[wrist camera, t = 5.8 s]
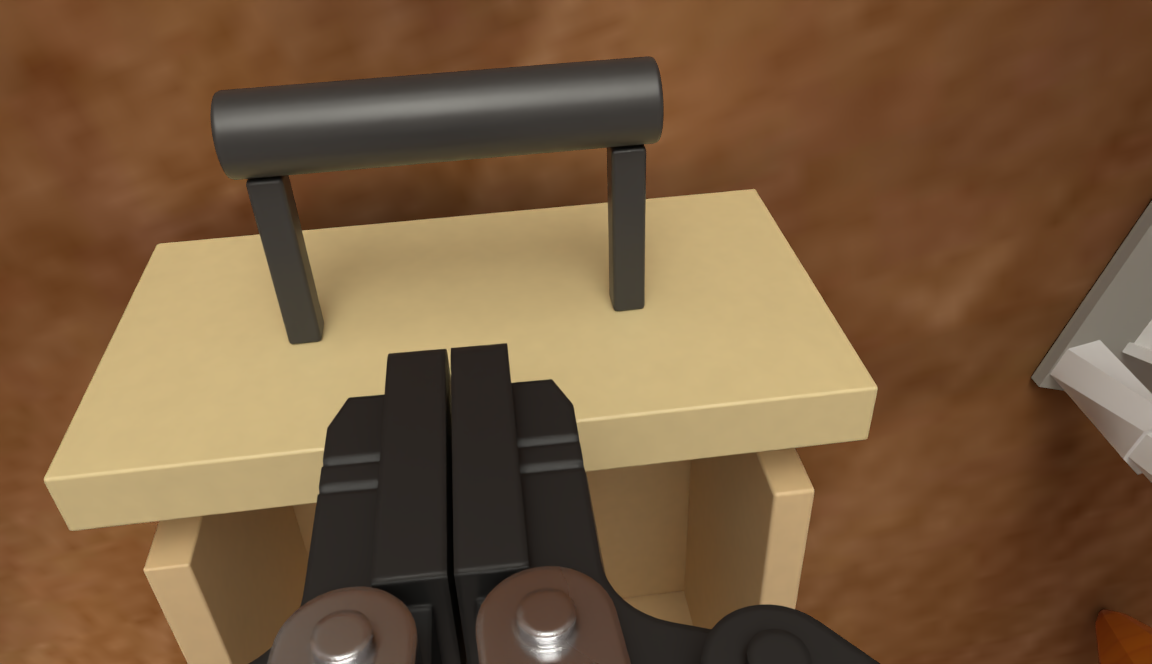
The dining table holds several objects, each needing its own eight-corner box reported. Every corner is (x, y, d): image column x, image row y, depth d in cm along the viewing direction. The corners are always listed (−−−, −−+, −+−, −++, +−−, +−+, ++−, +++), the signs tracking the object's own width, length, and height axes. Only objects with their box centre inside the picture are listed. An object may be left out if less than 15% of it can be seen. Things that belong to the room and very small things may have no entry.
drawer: (80, 26, 17) (-103, 210, 11) (774, -24, 18) (934, 120, 12) (291, 626, 28) (253, 880, 22) (721, 572, 29) (794, 800, 23)
